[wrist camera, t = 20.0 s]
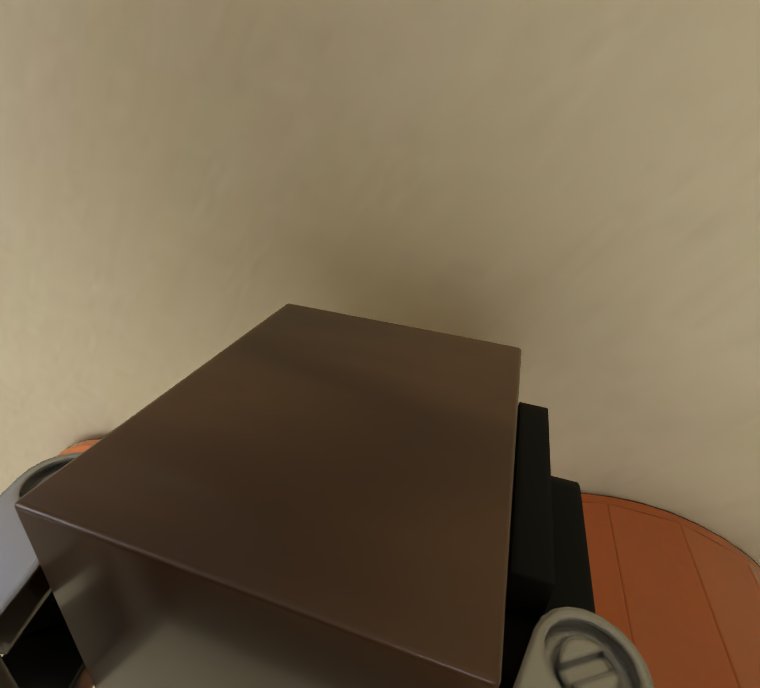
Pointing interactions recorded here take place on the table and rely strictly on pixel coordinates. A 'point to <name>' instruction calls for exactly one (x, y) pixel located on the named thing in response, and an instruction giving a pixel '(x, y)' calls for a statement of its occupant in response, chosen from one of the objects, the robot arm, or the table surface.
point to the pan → (675, 594)
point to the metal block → (296, 516)
